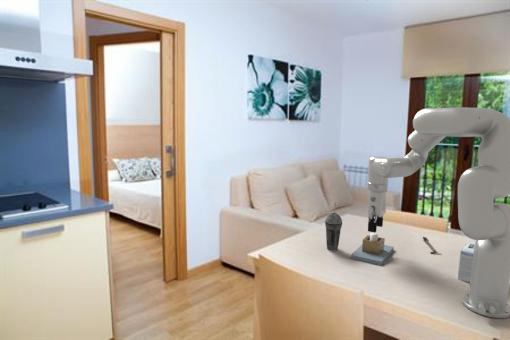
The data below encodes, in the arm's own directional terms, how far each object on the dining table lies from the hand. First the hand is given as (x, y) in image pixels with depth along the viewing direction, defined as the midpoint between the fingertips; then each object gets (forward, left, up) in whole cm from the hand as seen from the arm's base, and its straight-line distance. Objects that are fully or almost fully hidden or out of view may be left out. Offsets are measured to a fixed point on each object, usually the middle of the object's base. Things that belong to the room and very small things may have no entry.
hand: (375, 229), depth 147 cm
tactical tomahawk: (+26, -19, -12) cm, 34 cm away
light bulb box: (-2, -35, -11) cm, 36 cm away
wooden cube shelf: (0, 0, -9) cm, 9 cm away
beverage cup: (-4, +16, -11) cm, 20 cm away
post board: (0, 0, -11) cm, 11 cm away
